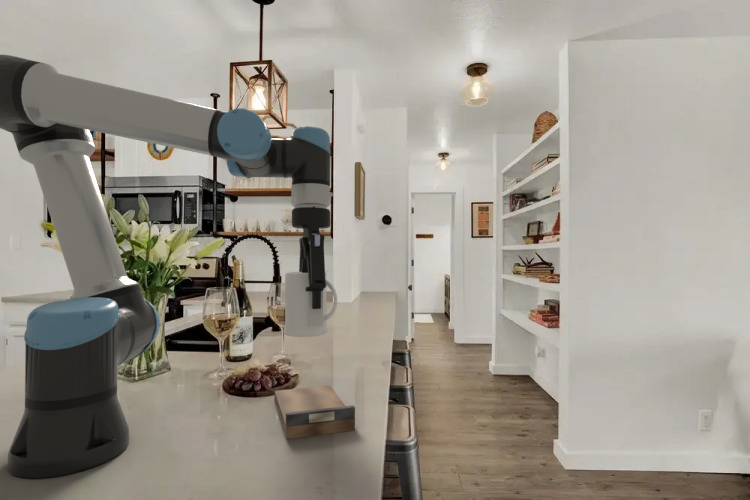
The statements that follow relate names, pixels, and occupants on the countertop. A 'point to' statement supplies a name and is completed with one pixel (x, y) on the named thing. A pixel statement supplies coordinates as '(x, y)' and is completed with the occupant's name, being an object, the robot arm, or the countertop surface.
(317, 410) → the flat wooden box
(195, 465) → the countertop surface
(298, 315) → the mug
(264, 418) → the countertop surface
